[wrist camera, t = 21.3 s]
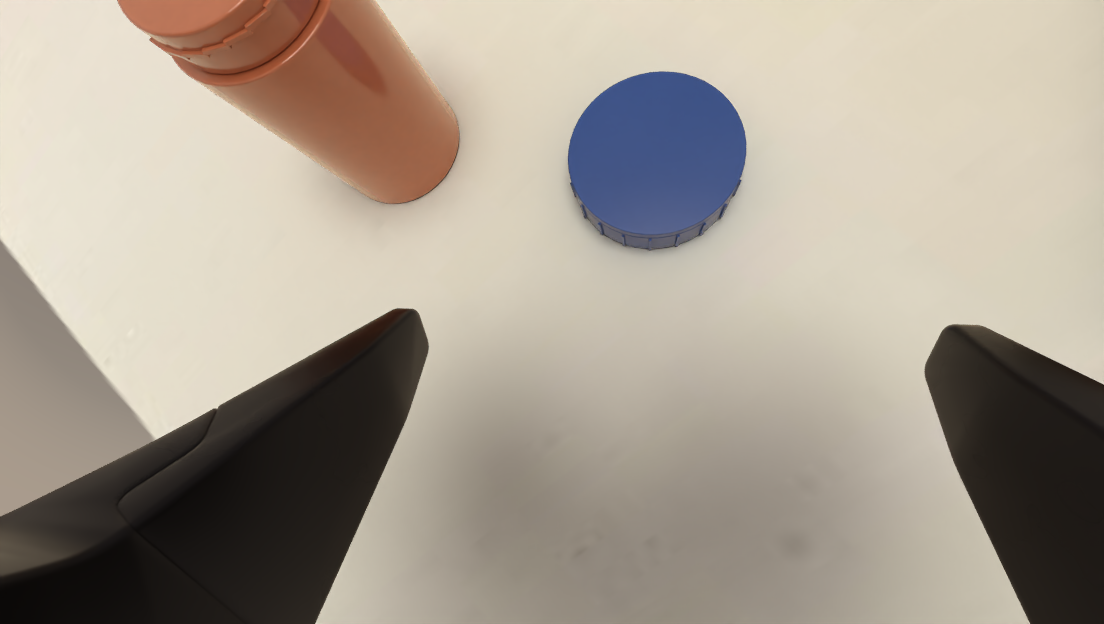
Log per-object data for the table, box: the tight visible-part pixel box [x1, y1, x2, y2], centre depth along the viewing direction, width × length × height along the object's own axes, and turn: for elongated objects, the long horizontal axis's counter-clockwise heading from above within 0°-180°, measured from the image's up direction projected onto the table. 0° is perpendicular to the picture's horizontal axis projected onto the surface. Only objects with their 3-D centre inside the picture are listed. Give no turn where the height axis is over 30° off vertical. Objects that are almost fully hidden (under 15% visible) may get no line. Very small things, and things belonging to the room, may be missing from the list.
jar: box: [117, 0, 459, 204], centre depth 17 cm, size 6×6×11 cm
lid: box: [568, 72, 746, 250], centre depth 19 cm, size 7×7×2 cm
